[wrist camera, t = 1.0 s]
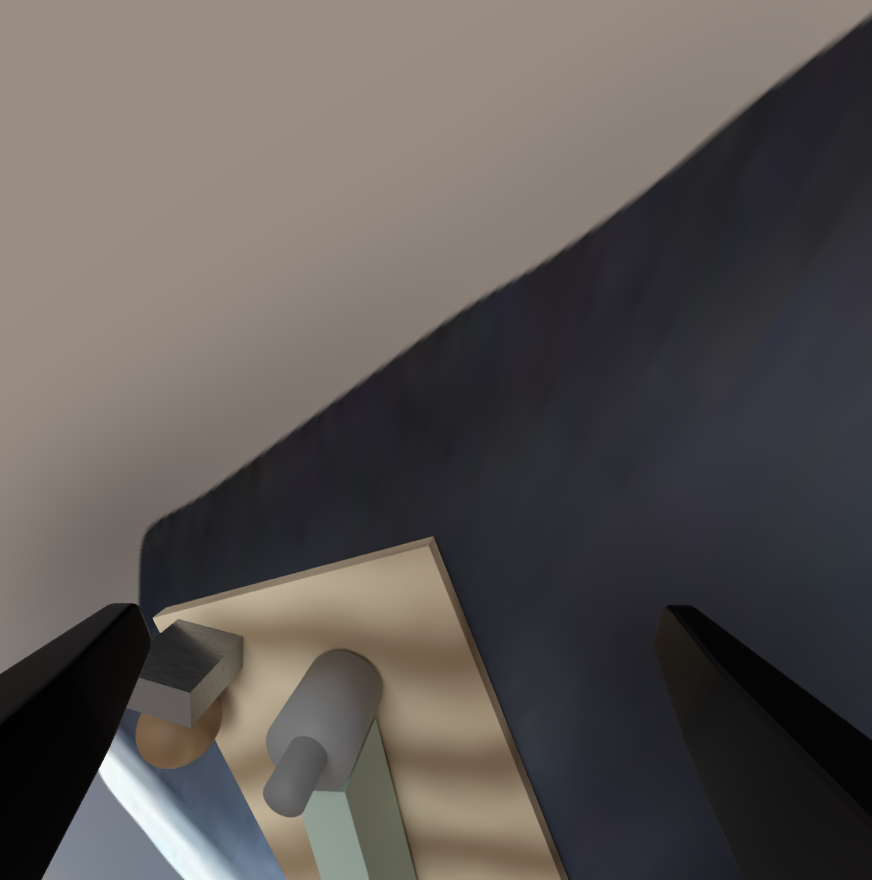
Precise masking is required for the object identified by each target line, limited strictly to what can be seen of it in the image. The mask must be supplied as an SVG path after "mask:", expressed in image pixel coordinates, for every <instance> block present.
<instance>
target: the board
mask: <svg viewBox="0 0 872 880" xmlns="http://www.w3.org/2000/svg"><path fill="white" fill-rule="evenodd" d="M177 619H181V620H185V621H188V622H192V623H196V624H200V625H203V626H207V627H211V628H215V629H218V630H222V631H226V632H230V633H233V634H237V635H241V636H243V668H242V669H241V670H240V671H239V672H238V674H237V675H236V676H235V677H234V678H233V679H232V681H231V682H230V683H229V684H228V685H227V686H226V688H225V689H224V690H223V691H222V692H221V693H220V695H219V698H220V700H221V703H222V711H223V714H222V722H221V726H220V729H219V732H218V734H217V736H216V738H215V740H216V742H217V744H218V746H219V748H220V750H221V752H222V754H223V756H224V758H225V760H226V762H227V764H228V766H229V768H230V769H231V771H232V773H233V775H234V777H235V779H236V781H237V783H238V785H239V787H240V789H241V791H242V793H243V795H244V797H245V799H246V801H247V803H248V804H249V806H250V808H251V810H252V812H253V814H254V816H255V818H256V820H257V822H258V824H259V826H260V828H261V830H262V832H263V834H264V836H265V837H266V839H267V841H268V843H269V845H270V847H271V849H272V851H273V853H274V855H275V857H276V859H277V861H278V863H279V865H280V867H281V869H282V871H283V872H284V874H285V876H286V878H287V880H321V877H320V874H319V870H318V867H317V864H316V861H315V857H314V854H313V851H312V847H311V844H310V841H309V838H308V834H307V831H306V828H305V824H304V821H303V818H302V815H299V816H297V817H293V818H290V817H284V816H281V815H279V814H277V813H276V812H274V811H273V810H272V809H271V808H270V807H269V806H268V805H267V803H266V802H265V800H264V797H263V789H264V786H265V785H266V783H267V781H268V780H269V778H270V776H271V774H272V773H273V771H274V769H275V768H276V767H275V766H274V764H273V763H272V761H271V759H270V757H269V754H268V752H267V748H266V736H267V732H268V730H269V728H270V726H271V725H272V723H273V722H274V720H275V719H276V717H277V716H278V714H279V713H280V711H281V710H282V708H283V707H284V705H285V704H286V702H287V700H288V699H289V697H290V696H291V694H292V693H293V691H294V690H295V688H296V687H297V685H298V684H299V682H300V681H301V679H302V678H303V676H304V675H305V673H306V672H307V670H308V669H309V667H310V666H311V664H312V663H313V661H314V660H315V659H316V658H317V657H318V656H319V655H321V654H323V653H326V652H329V651H346V652H349V653H352V654H355V655H357V656H359V657H360V658H362V659H363V660H365V661H366V662H367V663H368V664H369V665H370V666H371V667H372V668H373V669H374V671H375V672H376V674H377V675H378V677H379V680H380V683H381V687H382V696H381V700H380V703H379V705H378V708H377V710H376V712H375V715H374V717H376V721H377V725H378V729H379V733H380V737H381V741H382V745H383V749H384V753H385V757H386V761H387V765H388V769H389V773H390V777H391V781H392V785H393V789H394V793H395V797H396V801H397V805H398V809H399V812H400V816H401V820H402V824H403V828H404V832H405V836H406V840H407V844H408V848H409V852H410V856H411V860H412V864H413V868H414V872H415V876H416V880H568V877H567V875H566V872H565V870H564V867H563V865H562V862H561V860H560V857H559V854H558V852H557V849H556V847H555V844H554V842H553V839H552V837H551V834H550V832H549V829H548V827H547V824H546V821H545V819H544V816H543V814H542V811H541V809H540V806H539V804H538V801H537V799H536V796H535V793H534V791H533V788H532V786H531V783H530V781H529V778H528V776H527V773H526V771H525V768H524V766H523V763H522V760H521V758H520V755H519V753H518V750H517V748H516V745H515V743H514V740H513V738H512V735H511V732H510V730H509V727H508V725H507V722H506V720H505V717H504V715H503V712H502V710H501V707H500V705H499V702H498V699H497V697H496V694H495V692H494V689H493V687H492V684H491V682H490V679H489V677H488V674H487V671H486V669H485V666H484V664H483V661H482V659H481V656H480V654H479V651H478V649H477V646H476V644H475V641H474V638H473V636H472V633H471V631H470V628H469V626H468V623H467V621H466V618H465V616H464V613H463V610H462V608H461V605H460V603H459V600H458V598H457V595H456V593H455V590H454V588H453V585H452V583H451V580H450V577H449V575H448V572H447V570H446V567H445V565H444V562H443V560H442V557H441V555H440V552H439V549H438V547H437V544H436V542H435V539H434V537H433V536H432V537H428V538H425V539H421V540H417V541H413V542H410V543H406V544H402V545H398V546H395V547H391V548H387V549H384V550H380V551H376V552H372V553H369V554H365V555H361V556H357V557H354V558H350V559H346V560H342V561H339V562H335V563H331V564H327V565H324V566H320V567H316V568H313V569H309V570H305V571H301V572H298V573H294V574H290V575H286V576H283V577H279V578H275V579H271V580H268V581H264V582H260V583H256V584H253V585H249V586H245V587H242V588H238V589H234V590H230V591H227V592H223V593H219V594H215V595H212V596H208V597H204V598H200V599H197V600H193V601H189V602H185V603H182V604H178V605H174V606H170V607H167V608H165V609H164V610H163V611H161V612H160V613H159V614H157V615H156V616H155V617H153V620H154V622H155V624H156V626H157V628H158V630H159V631H160V633H161V632H163V631H164V630H165V629H166V628H168V627H169V626H170V625H171V624H172V623H174V622H175V621H176V620H177Z"/></svg>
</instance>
